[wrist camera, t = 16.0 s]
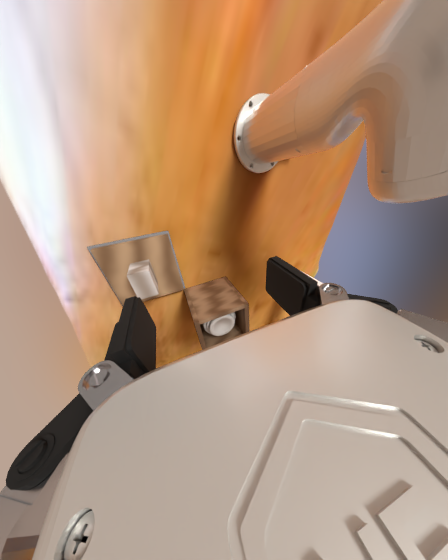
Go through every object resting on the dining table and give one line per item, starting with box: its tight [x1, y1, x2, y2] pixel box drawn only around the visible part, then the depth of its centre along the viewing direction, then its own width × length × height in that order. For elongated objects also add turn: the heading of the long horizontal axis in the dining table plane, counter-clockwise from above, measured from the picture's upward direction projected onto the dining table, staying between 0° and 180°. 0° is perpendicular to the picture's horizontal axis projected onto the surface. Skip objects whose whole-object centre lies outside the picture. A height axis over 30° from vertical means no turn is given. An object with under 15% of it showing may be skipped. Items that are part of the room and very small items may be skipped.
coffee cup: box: [203, 312, 236, 336], centre depth 45 cm, size 9×9×12 cm
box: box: [184, 277, 249, 350], centre depth 44 cm, size 13×13×14 cm
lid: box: [90, 233, 184, 305], centre depth 35 cm, size 15×15×7 cm
